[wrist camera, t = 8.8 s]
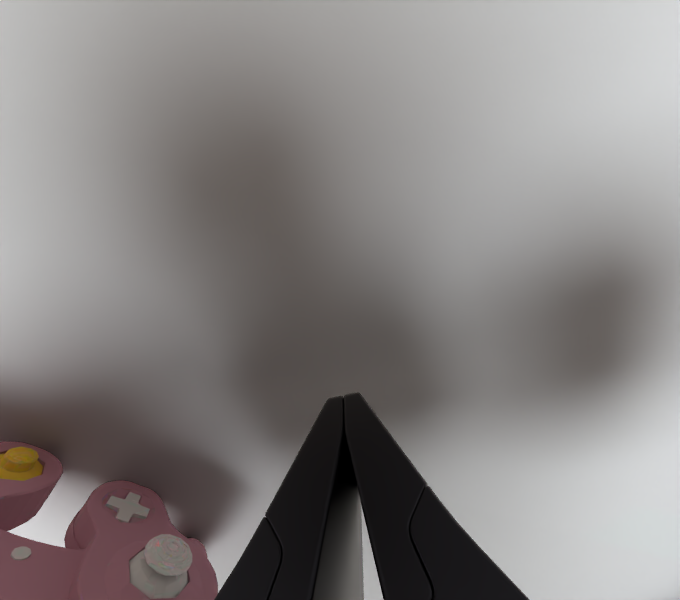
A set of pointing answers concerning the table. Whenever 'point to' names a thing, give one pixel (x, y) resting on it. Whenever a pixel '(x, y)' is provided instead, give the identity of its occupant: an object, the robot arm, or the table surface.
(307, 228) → the table surface
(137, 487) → the video game controller
